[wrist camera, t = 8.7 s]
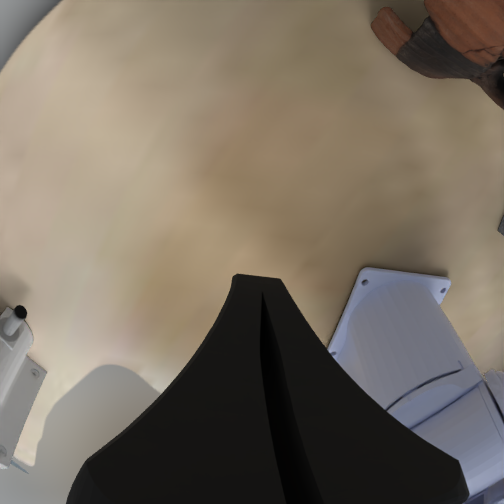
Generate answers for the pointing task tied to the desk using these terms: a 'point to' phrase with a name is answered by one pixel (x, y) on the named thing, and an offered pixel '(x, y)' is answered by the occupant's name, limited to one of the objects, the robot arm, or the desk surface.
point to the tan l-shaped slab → (501, 227)
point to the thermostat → (15, 380)
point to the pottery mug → (451, 42)
